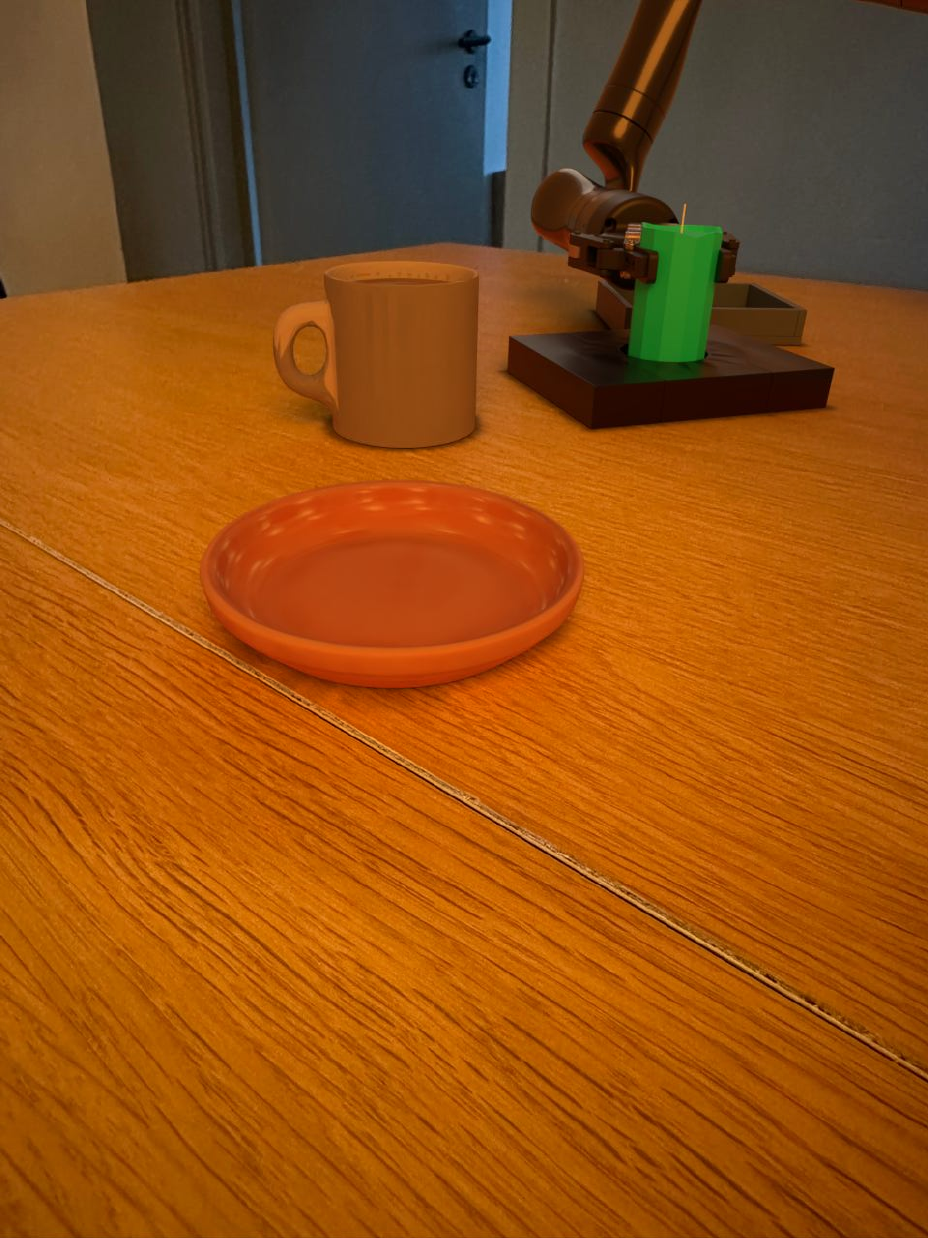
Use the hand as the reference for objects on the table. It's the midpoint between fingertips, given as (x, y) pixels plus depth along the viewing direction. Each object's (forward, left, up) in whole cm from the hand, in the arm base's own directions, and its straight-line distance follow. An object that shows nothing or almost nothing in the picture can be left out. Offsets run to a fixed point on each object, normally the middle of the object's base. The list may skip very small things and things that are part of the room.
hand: (689, 268), depth 63 cm
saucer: (+20, +33, -10) cm, 40 cm away
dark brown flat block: (0, -3, -9) cm, 10 cm away
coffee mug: (+22, +7, -10) cm, 25 cm away
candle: (0, -3, -8) cm, 9 cm away
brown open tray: (-9, -27, -9) cm, 30 cm away
